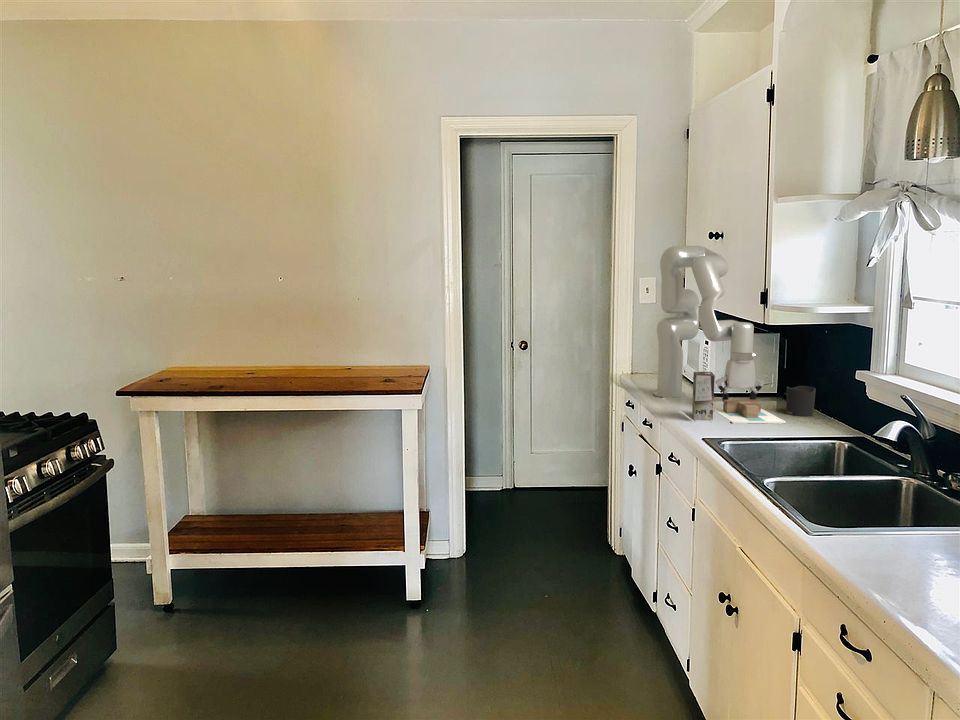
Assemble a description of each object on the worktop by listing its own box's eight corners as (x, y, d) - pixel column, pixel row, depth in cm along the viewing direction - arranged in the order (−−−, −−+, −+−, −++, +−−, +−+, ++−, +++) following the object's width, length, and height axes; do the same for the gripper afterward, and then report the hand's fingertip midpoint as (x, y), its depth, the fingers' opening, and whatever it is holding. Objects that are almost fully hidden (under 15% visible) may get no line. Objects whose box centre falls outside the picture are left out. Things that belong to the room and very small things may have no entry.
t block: (723, 410, 267) (723, 399, 267) (756, 410, 268) (756, 399, 267) (735, 418, 255) (735, 406, 255) (769, 417, 256) (770, 406, 255)
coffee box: (713, 422, 252) (715, 375, 249) (693, 421, 253) (695, 375, 251) (710, 416, 261) (712, 371, 258) (691, 416, 262) (693, 370, 260)
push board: (701, 403, 283) (701, 401, 283) (748, 403, 284) (748, 401, 284) (732, 423, 250) (732, 421, 250) (785, 423, 250) (785, 421, 250)
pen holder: (785, 411, 268) (786, 384, 267) (813, 414, 264) (815, 386, 263) (785, 417, 259) (786, 389, 258) (814, 419, 256) (816, 390, 254)
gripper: (761, 355, 270) (758, 401, 273) (713, 355, 270) (711, 401, 272) (769, 358, 263) (766, 405, 265) (720, 358, 262) (718, 405, 265)
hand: (738, 403), depth 269 cm, fingers open, 9 cm apart
